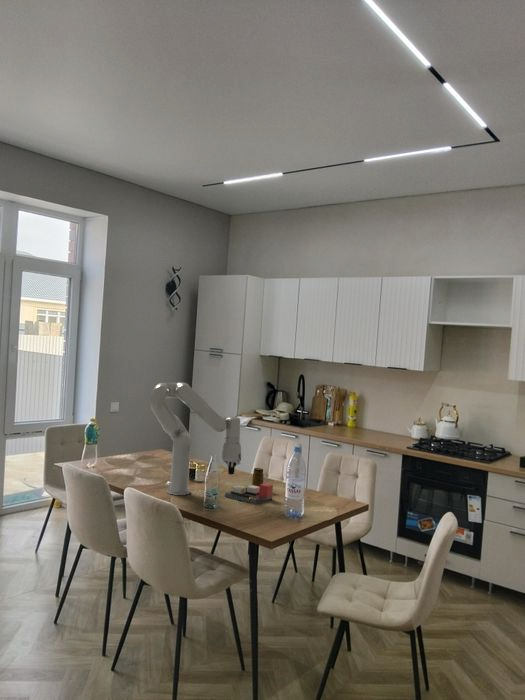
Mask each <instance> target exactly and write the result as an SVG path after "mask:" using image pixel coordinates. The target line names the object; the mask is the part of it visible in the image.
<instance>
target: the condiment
mask: <svg viewBox="0 0 525 700" xmlns="http://www.w3.org/2000/svg"><path fill="white" fill-rule="evenodd" d="M260 484H264V468H262V467H255V468H253V473H252V480H251V485H254V486H258V487H260Z"/></svg>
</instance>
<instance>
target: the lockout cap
mask: <svg viewBox="0 0 525 700" xmlns="http://www.w3.org/2000/svg"><path fill="white" fill-rule="evenodd" d="M273 489H274V486H273V484H271V483H266V482H265V483H264V482H263V484H260V490H259V496H261V497H265V498H268V497H271V496H272V497H273Z"/></svg>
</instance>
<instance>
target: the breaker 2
mask: <svg viewBox="0 0 525 700" xmlns="http://www.w3.org/2000/svg"><path fill="white" fill-rule="evenodd" d="M246 488H247V492H251V493H255V494H257V493H259V490H260V487H258V486H254V485H252V484H251V485H249V486H247V487H246Z"/></svg>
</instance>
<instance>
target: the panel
mask: <svg viewBox="0 0 525 700" xmlns="http://www.w3.org/2000/svg"><path fill="white" fill-rule="evenodd" d="M224 497H225V498H229V499H232V500H236V501H240V500H241V502H244V503H248V504H251V505H255V506H257V505H260V504H262V502H263V503H266V502H268V500H269V501H271V500H270V499H272V500H273V495H272V496H271V497H268V498H265V497H261V496H259V493H257V494H255V493H251V492H247V487H246V493H243V494H240V493H236V492H233V490H232V491H228V492H225V494H224ZM265 501H266V502H265Z"/></svg>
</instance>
